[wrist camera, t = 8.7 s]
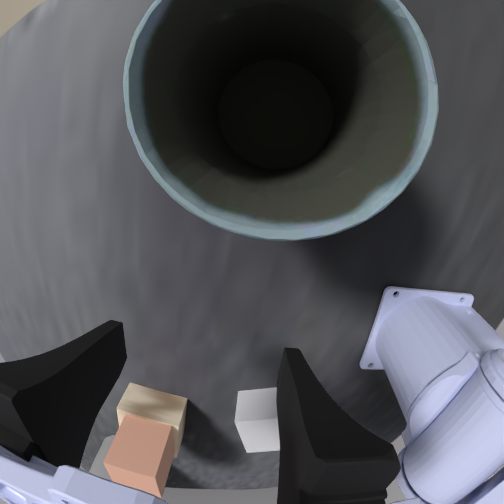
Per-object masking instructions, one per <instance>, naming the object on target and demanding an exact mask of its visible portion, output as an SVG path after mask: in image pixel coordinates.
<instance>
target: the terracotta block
mask: <svg viewBox="0 0 504 504" xmlns="http://www.w3.org/2000/svg"><path fill="white" fill-rule="evenodd" d="M174 453H175V446H174V439H173V431H172V425H167V424H163V423H158V422H154V421H150V420H145V419H141V418H138V417H134V416H130V415H125V417H124V419H123V421H122V423H121V425H120V427H119V429H118V431H117V433H116V435H115V438H114V440H113V442H112V444H111V446H110V448H109V450H108V453H107V455H106V457H105V459H104V461H103V463H104V465H105V467H106V469H107V471H108V473H109V475H110V477H111V479H112V481H113V482H116V483H120V484H123V485H126V486H129V487H133V488H136V489H139V490H142V491H145V492H148V493H151V494H153V495H155V496H157V497H159V498H162V495H163V492H164V488H165V485H166V481H167V478H168V474H169V471H170V467H171V464H172V460H173V457H174Z"/></svg>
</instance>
